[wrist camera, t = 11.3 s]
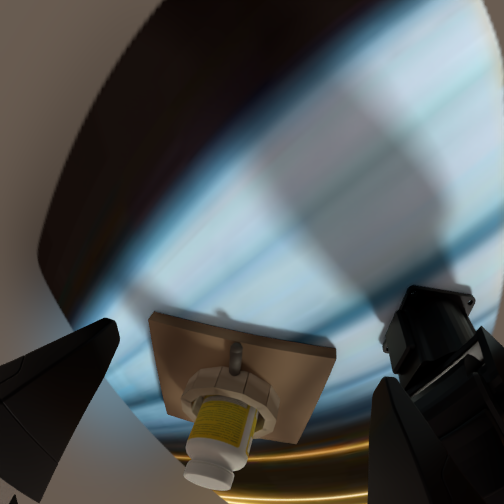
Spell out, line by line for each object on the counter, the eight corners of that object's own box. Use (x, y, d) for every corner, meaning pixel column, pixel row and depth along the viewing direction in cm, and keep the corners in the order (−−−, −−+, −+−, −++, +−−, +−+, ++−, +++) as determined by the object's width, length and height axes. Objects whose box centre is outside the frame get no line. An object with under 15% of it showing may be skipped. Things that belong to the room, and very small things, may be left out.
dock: (336, 347, 23) (337, 380, 20) (297, 435, 31) (294, 461, 27) (153, 309, 25) (134, 336, 22) (170, 407, 33) (160, 429, 29)
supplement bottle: (197, 384, 27) (161, 466, 18) (244, 376, 25) (214, 471, 16) (226, 414, 29) (200, 491, 20) (270, 408, 27) (251, 495, 18)
